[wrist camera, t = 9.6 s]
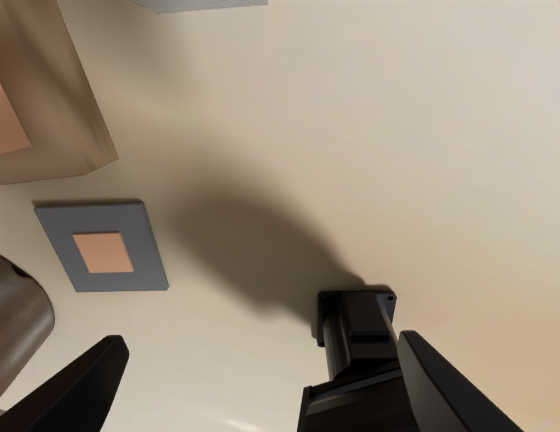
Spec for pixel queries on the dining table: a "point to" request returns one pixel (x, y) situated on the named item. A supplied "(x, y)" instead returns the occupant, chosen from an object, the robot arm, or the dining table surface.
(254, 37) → the dining table surface
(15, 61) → the tan block
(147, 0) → the slate grey cube
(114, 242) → the card
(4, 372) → the plant pot
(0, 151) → the terracotta cube
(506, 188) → the dining table surface
